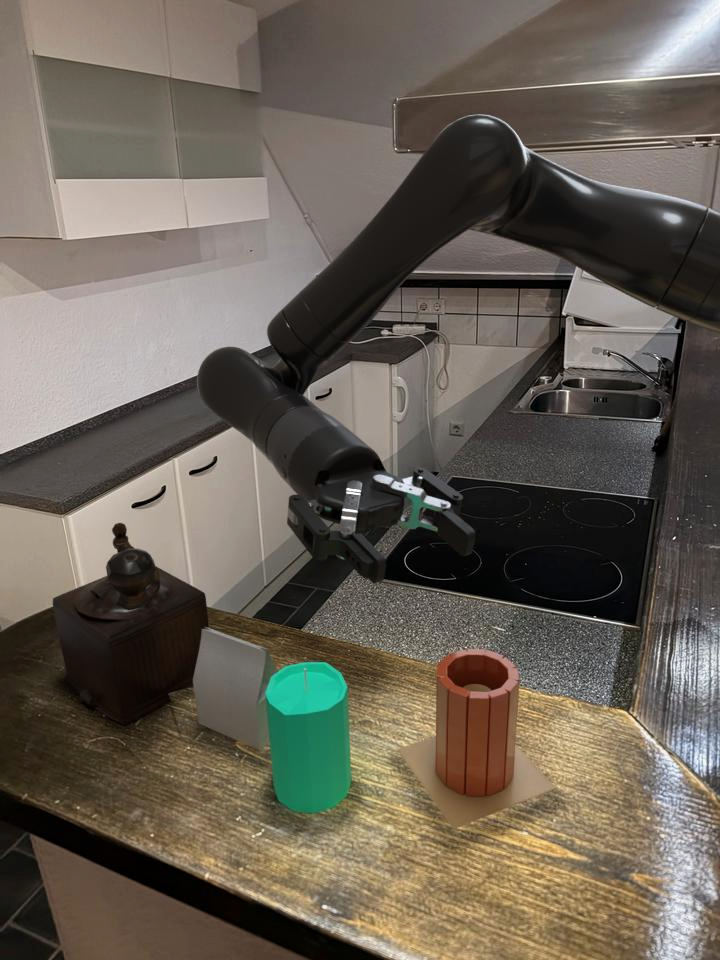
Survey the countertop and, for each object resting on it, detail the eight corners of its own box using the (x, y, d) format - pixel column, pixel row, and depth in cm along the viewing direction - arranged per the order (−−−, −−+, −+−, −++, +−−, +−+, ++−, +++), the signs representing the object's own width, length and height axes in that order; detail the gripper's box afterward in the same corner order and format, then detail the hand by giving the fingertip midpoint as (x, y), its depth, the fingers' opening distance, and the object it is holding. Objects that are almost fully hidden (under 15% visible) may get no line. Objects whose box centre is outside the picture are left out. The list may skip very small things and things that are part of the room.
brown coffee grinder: (58, 685, 73) (21, 515, 67) (156, 635, 81) (132, 478, 74) (149, 760, 63) (117, 570, 57) (251, 696, 71) (234, 521, 64)
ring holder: (490, 730, 66) (494, 647, 63) (555, 803, 58) (563, 712, 55) (396, 763, 62) (395, 677, 59) (452, 844, 55) (455, 751, 52)
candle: (299, 761, 63) (290, 637, 58) (365, 783, 60) (360, 656, 56) (259, 812, 58) (246, 682, 54) (329, 839, 56) (321, 705, 51)
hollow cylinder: (485, 732, 63) (489, 641, 60) (528, 781, 58) (535, 683, 55) (421, 754, 61) (422, 661, 58) (460, 807, 56) (463, 707, 53)
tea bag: (261, 764, 63) (252, 663, 59) (200, 736, 66) (187, 638, 62) (288, 737, 66) (280, 639, 62) (228, 712, 69) (217, 617, 65)
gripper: (253, 437, 64) (354, 540, 53) (392, 412, 71) (507, 499, 60) (249, 511, 68) (343, 623, 56) (381, 481, 75) (488, 574, 64)
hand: (427, 559), depth 58 cm, fingers open, 8 cm apart
